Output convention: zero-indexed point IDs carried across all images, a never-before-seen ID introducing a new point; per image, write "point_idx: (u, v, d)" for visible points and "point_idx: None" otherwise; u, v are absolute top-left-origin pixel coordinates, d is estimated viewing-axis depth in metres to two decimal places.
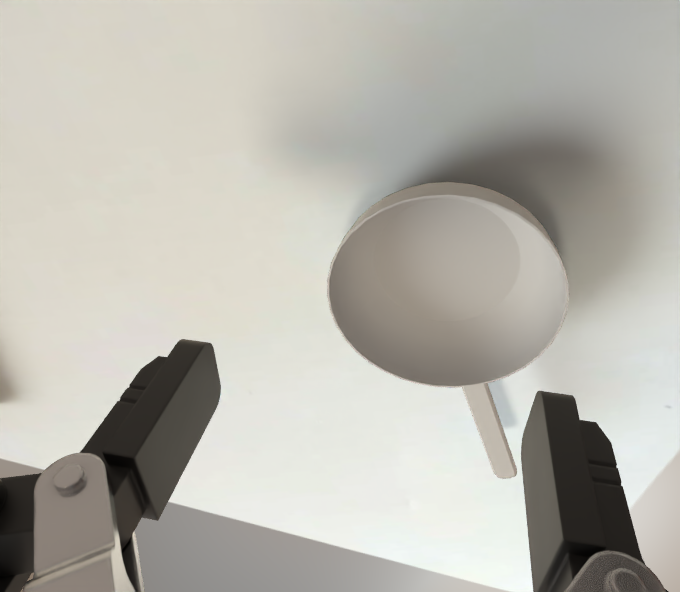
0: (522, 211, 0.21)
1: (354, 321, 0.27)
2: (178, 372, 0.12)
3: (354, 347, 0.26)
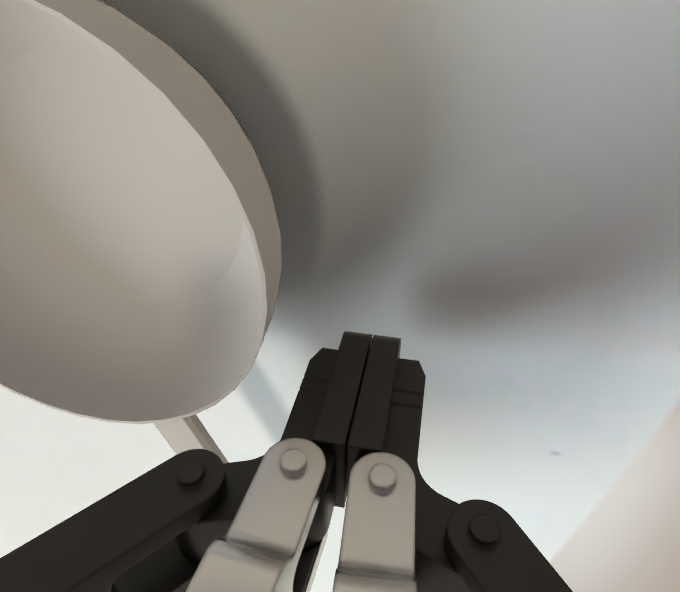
0: (107, 23, 0.09)
1: None
2: (355, 363, 0.12)
3: None
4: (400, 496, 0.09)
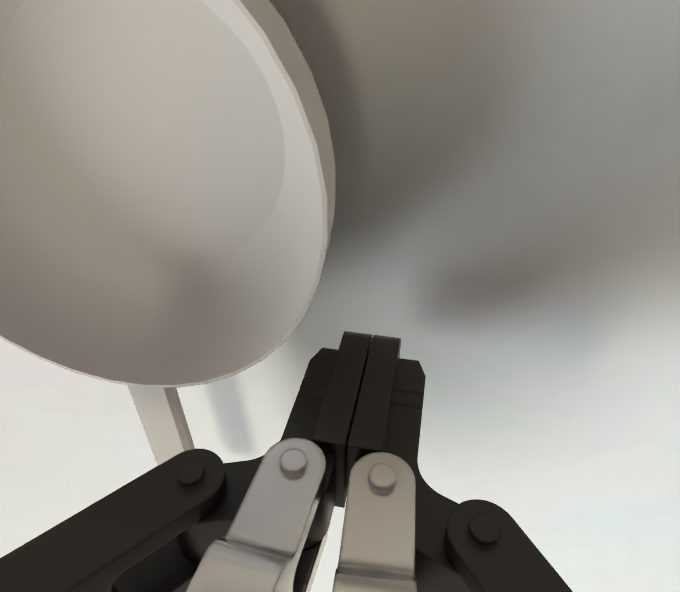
0: None
1: None
2: (355, 363, 0.12)
3: None
4: (400, 496, 0.09)
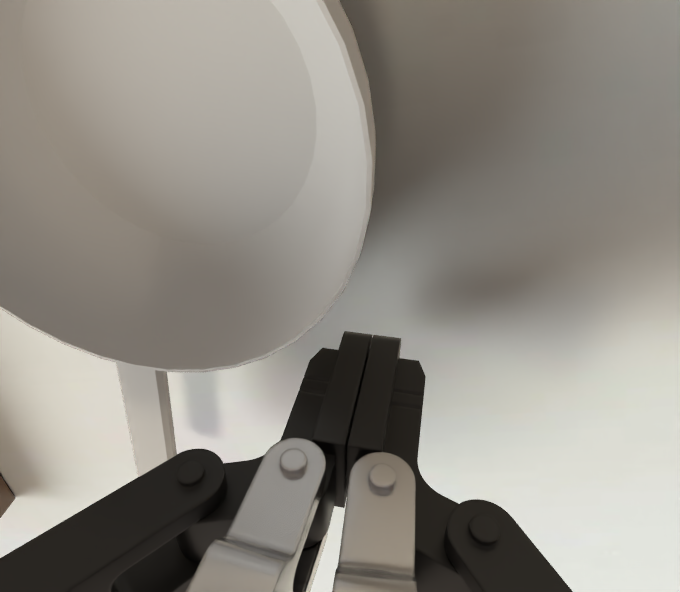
0: (333, 1, 0.08)
1: None
2: (355, 363, 0.12)
3: None
4: (400, 496, 0.09)
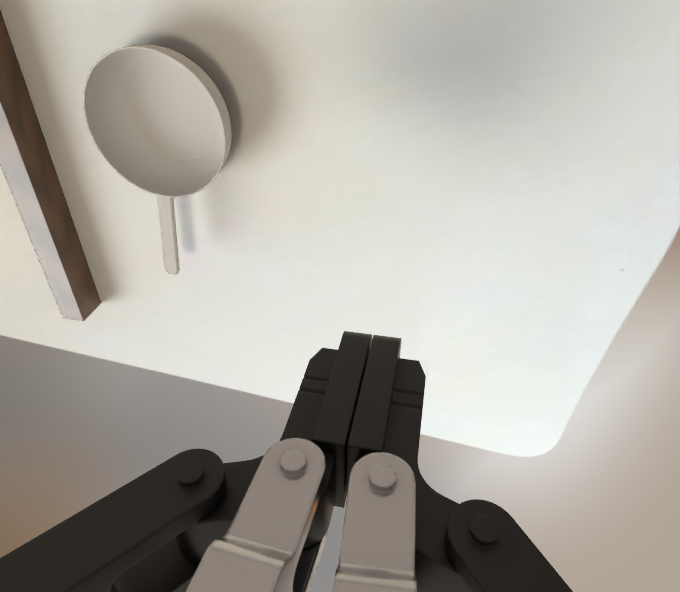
0: (212, 89, 0.35)
1: (102, 124, 0.39)
2: (355, 363, 0.12)
3: (93, 138, 0.39)
4: (400, 496, 0.09)
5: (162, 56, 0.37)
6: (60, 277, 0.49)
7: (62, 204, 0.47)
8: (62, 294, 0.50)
